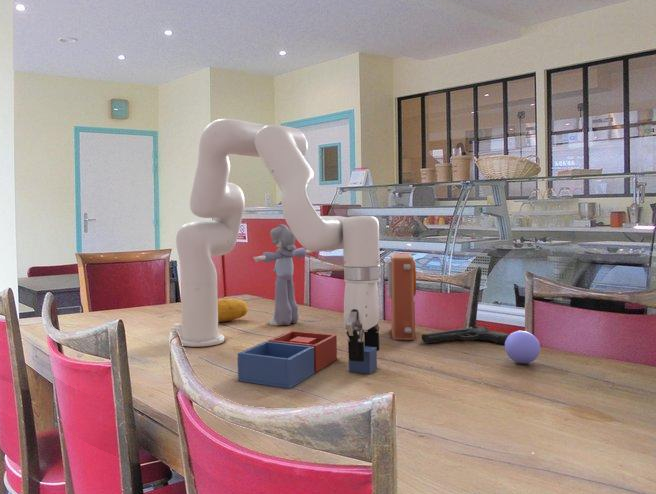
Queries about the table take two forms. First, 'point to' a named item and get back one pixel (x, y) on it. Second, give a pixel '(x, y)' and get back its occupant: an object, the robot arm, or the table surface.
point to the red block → (304, 340)
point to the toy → (283, 274)
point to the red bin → (322, 349)
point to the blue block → (365, 362)
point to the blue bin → (276, 364)
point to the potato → (231, 309)
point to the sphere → (522, 347)
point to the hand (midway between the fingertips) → (364, 355)
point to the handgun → (466, 335)
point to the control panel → (402, 295)
